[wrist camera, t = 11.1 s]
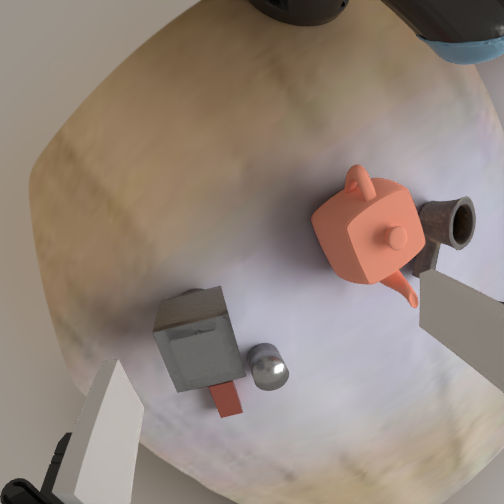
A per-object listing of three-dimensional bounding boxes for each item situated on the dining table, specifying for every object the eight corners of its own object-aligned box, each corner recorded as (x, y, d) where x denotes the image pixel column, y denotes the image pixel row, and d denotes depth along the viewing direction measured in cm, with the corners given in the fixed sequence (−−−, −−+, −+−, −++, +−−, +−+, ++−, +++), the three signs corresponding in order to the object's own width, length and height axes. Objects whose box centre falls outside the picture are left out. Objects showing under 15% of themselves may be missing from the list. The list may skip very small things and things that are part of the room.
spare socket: (244, 348, 40) (250, 368, 35) (275, 339, 41) (285, 357, 36) (251, 373, 41) (258, 394, 36) (281, 364, 42) (291, 384, 37)
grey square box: (160, 301, 34) (152, 332, 26) (220, 285, 35) (228, 314, 27) (179, 353, 35) (177, 392, 28) (235, 339, 36) (246, 376, 29)
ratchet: (168, 295, 37) (163, 318, 30) (215, 283, 37) (220, 304, 31) (210, 410, 41) (214, 442, 35) (249, 400, 42) (258, 431, 35)
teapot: (360, 149, 37) (408, 142, 27) (405, 264, 42) (452, 284, 32) (287, 189, 37) (321, 191, 27) (344, 306, 42) (383, 339, 32)
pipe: (399, 271, 42) (433, 287, 34) (418, 187, 40) (455, 189, 32) (426, 276, 43) (460, 292, 36) (444, 198, 41) (481, 202, 34)
